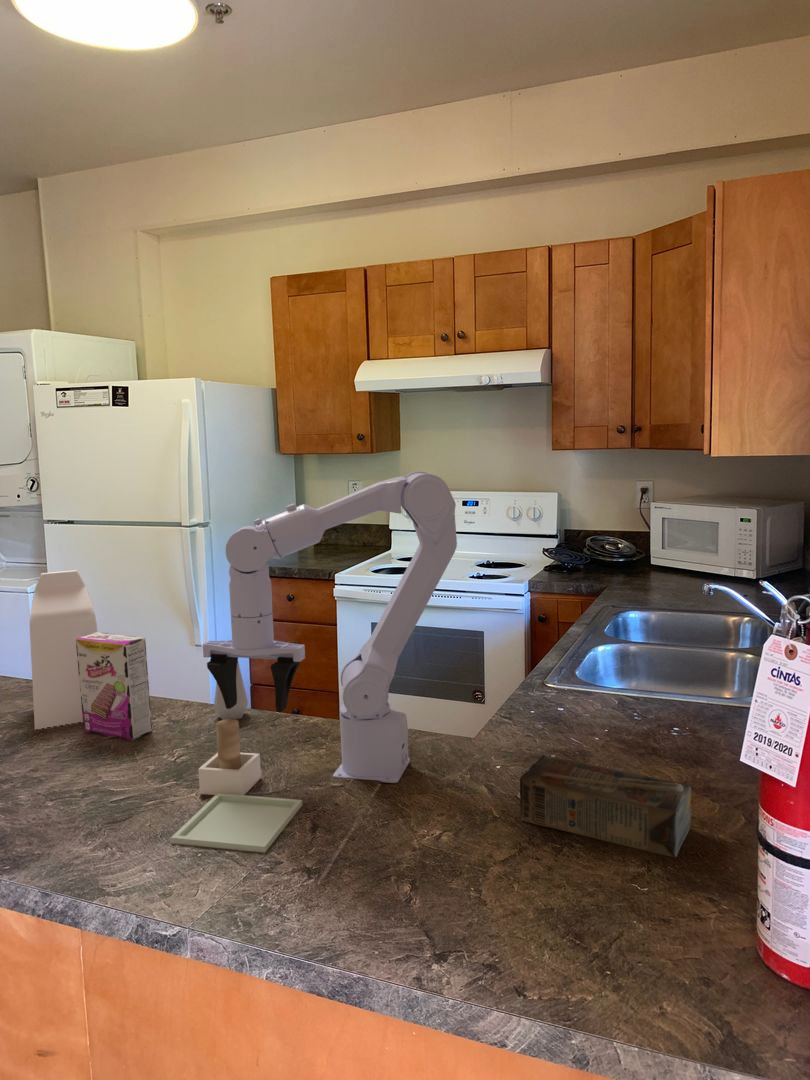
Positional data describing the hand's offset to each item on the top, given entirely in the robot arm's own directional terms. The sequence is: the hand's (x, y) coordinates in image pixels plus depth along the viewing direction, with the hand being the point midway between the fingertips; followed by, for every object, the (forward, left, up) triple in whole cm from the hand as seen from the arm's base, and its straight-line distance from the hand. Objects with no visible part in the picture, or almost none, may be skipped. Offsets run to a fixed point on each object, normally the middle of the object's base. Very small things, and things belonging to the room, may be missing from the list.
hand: (256, 708), depth 111 cm
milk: (+46, -20, -11) cm, 51 cm away
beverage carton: (-47, +6, -11) cm, 49 cm away
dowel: (+3, +4, -10) cm, 11 cm away
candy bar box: (+32, -13, -11) cm, 36 cm away
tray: (-3, +14, -10) cm, 18 cm away
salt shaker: (+16, -23, -11) cm, 30 cm away
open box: (+3, +4, -10) cm, 11 cm away
